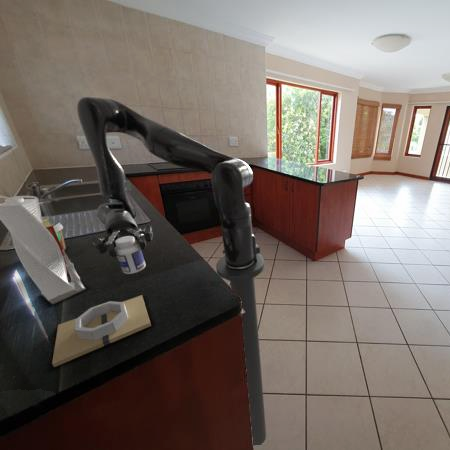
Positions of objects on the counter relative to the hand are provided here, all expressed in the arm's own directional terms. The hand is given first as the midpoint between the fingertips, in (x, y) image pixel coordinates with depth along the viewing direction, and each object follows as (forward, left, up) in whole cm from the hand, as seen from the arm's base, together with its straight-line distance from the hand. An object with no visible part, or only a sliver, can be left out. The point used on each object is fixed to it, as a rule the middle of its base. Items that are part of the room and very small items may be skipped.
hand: (128, 249), depth 59 cm
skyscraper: (+17, -14, -14) cm, 26 cm away
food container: (+22, -43, -14) cm, 50 cm away
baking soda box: (+19, -28, -14) cm, 36 cm away
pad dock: (+8, +8, -13) cm, 18 cm away
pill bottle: (0, -3, -7) cm, 8 cm away
